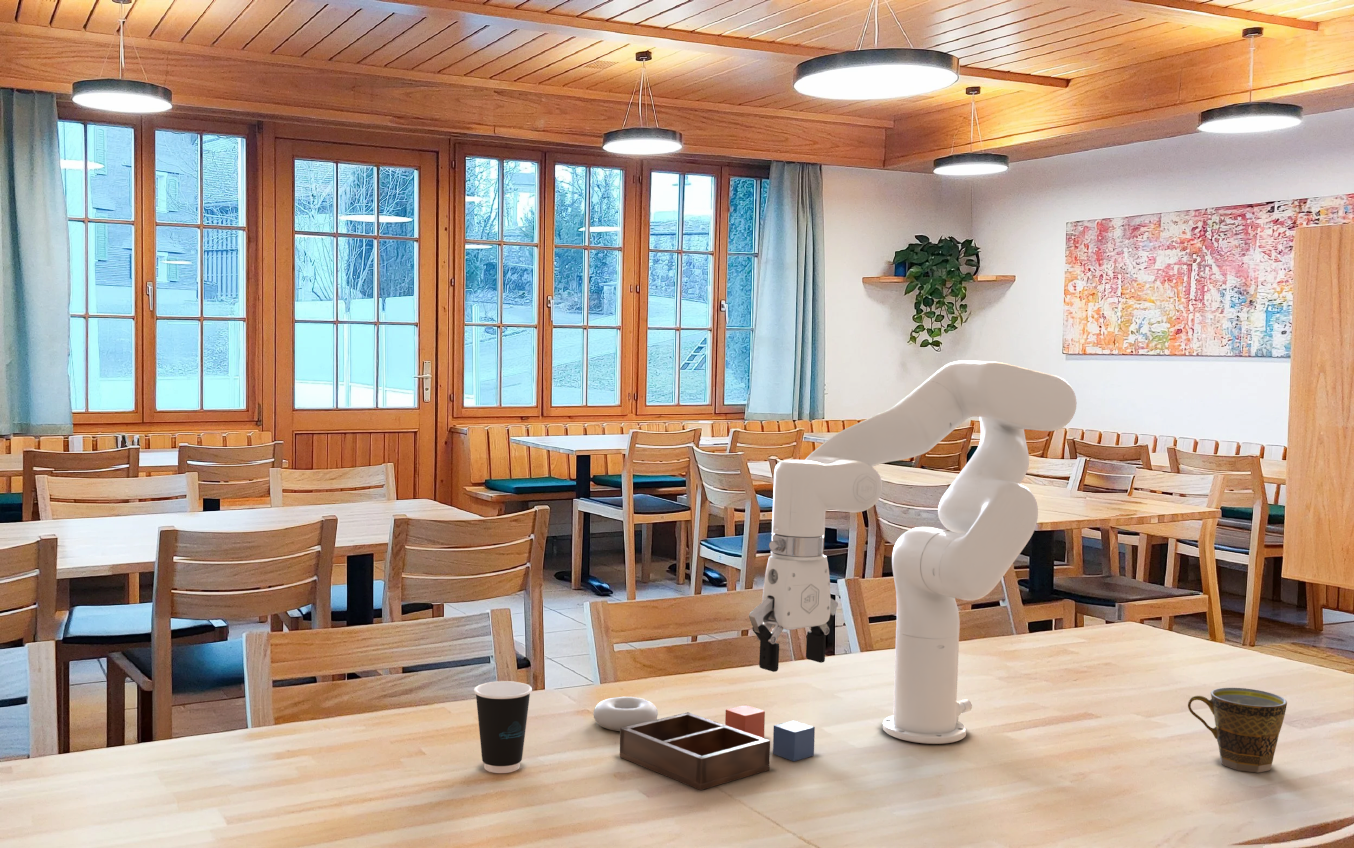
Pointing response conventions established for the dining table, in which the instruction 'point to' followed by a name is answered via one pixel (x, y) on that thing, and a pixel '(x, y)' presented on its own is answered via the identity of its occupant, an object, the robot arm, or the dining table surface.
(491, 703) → the dixie cup
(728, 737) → the sorting tray
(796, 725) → the slate block
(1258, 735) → the ceramic cup
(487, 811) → the dining table surface
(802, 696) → the dining table surface
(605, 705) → the donut
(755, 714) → the terracotta block
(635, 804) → the dining table surface
